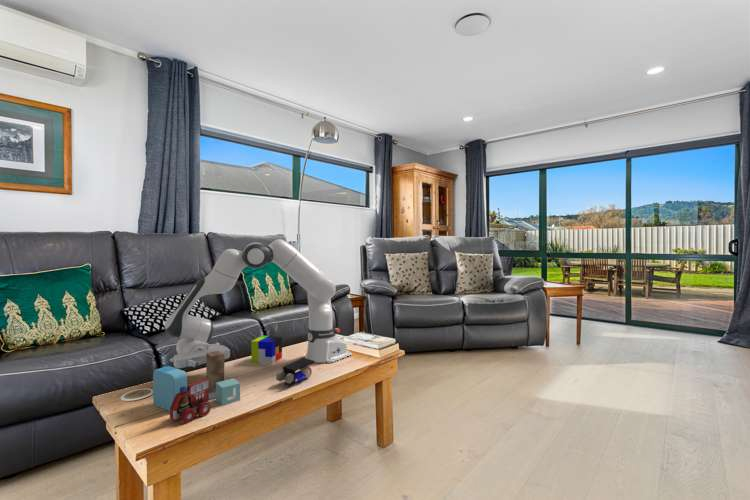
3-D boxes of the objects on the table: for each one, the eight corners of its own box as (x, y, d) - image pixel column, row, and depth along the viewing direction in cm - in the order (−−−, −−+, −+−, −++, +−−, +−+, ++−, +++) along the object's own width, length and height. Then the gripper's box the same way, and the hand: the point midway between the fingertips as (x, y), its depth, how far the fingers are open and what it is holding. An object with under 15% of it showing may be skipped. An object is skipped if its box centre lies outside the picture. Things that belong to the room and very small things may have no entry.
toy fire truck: (164, 422, 110) (164, 387, 110) (202, 406, 121) (202, 375, 121) (176, 428, 107) (176, 392, 107) (215, 411, 117) (215, 379, 117)
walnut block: (218, 384, 138) (218, 350, 138) (224, 389, 134) (224, 353, 134) (206, 387, 135) (206, 352, 135) (211, 392, 131) (211, 356, 131)
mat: (220, 380, 144) (220, 379, 144) (237, 392, 132) (237, 391, 132) (193, 386, 137) (193, 385, 137) (208, 400, 126) (208, 399, 126)
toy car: (289, 393, 135) (316, 376, 148) (287, 374, 134) (315, 358, 147) (276, 390, 139) (303, 373, 152) (274, 370, 138) (302, 355, 151)
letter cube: (233, 395, 130) (233, 378, 130) (240, 400, 126) (240, 383, 126) (215, 399, 126) (215, 382, 126) (222, 405, 122) (222, 387, 122)
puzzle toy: (271, 364, 163) (271, 342, 163) (251, 363, 165) (251, 341, 165) (281, 357, 173) (282, 336, 173) (262, 356, 175) (262, 335, 175)
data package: (187, 407, 120) (187, 371, 120) (173, 413, 116) (173, 375, 116) (166, 399, 126) (166, 364, 126) (152, 404, 122) (152, 368, 122)
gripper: (168, 350, 142) (179, 359, 132) (222, 341, 156) (235, 348, 146) (168, 367, 142) (179, 376, 132) (222, 356, 156) (235, 364, 146)
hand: (209, 361), depth 139 cm, fingers open, 8 cm apart
